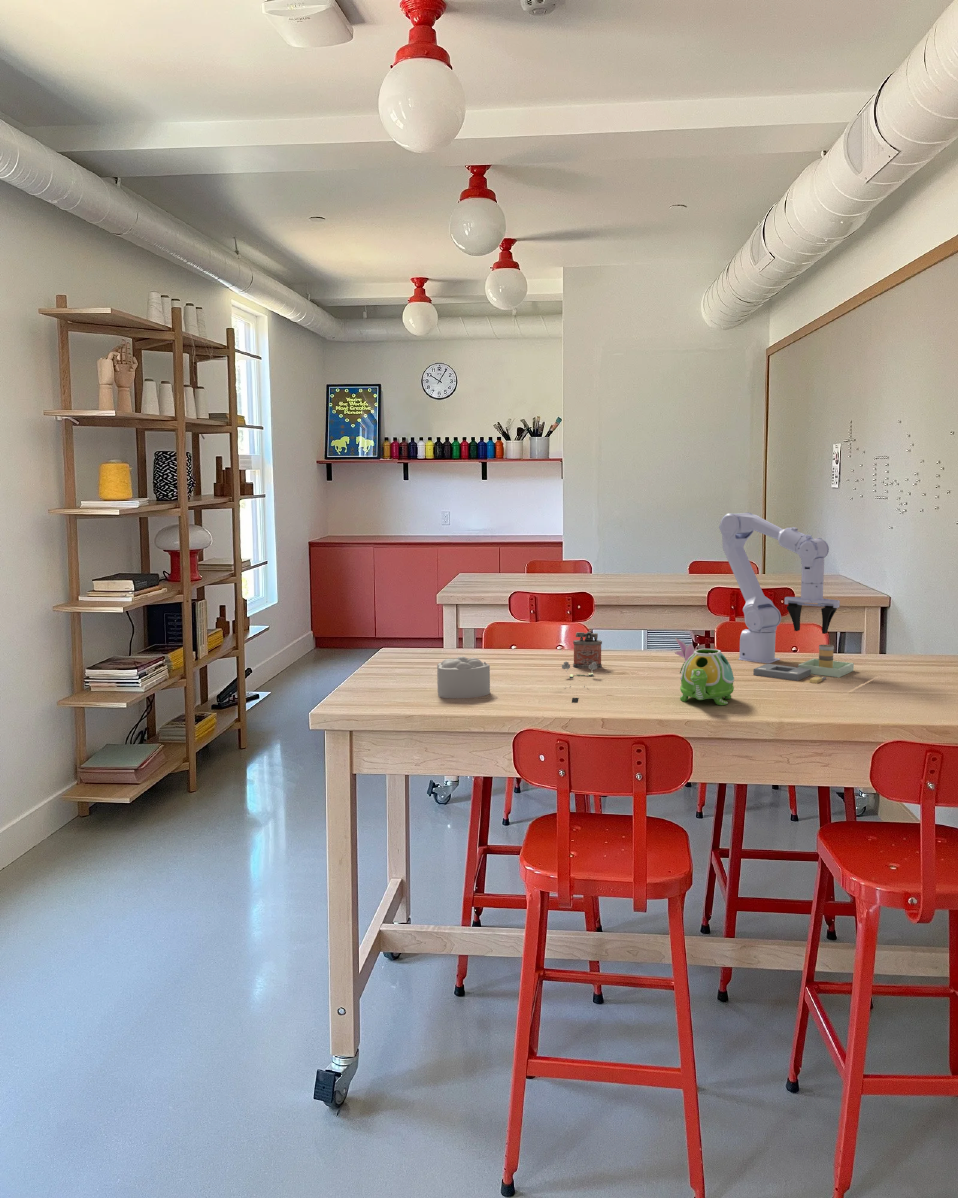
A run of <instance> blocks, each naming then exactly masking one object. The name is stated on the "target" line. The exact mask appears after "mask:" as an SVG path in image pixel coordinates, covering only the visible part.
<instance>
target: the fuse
mask: <svg viewBox="0 0 958 1198" xmlns="http://www.w3.org/2000/svg"><path fill="white" fill-rule="evenodd" d="M834 649H835V646H834V645H833V644H819V646H818V659H819V667H826V668H833V661H834Z"/></svg>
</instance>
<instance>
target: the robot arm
mask: <svg viewBox="0 0 958 1198" xmlns="http://www.w3.org/2000/svg"><path fill="white" fill-rule="evenodd" d="M718 529H719V532H720V534H721V538H722V539H721V541H722V542H721V543H722V549H723V552H724V555H725V557H726V559H727V561H728V564H729V566H730V569H731V571H732V574H733V575H734V578H735V581H736V583H737V586H738V587H739V590H740V591H741V592H740V593H741V595H742V597H743V599H744V601H745V604H744V606H743V608H742V612H743V616H744V623H745V626H746V627H747V628H748V629H747V628H745V629H742V631H741V633H740V636H739V637H740V638H739V658H737V660H738V661H745V662H755V663H760V664H761V663H762V664H772V663H775V662H776V661H779V660H781V658H778V657H776V632H777V629H778V626H779V625H780V624H781V622H782V615H781V612H780V610H779V608H777V607H776V606H775V604H774V602H773V601H772V600H771V599H770V598H768V597H767V596H765V594H764V592H763V590H762V587H761V585H760V583H759V580H758V577H757V576H756V575H757V574H756V573H755V570H754V569H753V567H752V564H751V561H750V560H749V557H748V555H747V553H746V551H745V544H746V543H747V541H748V540H749V539H750V537H751V536H752V534H754V532H757V533H760V534H762V535H765V536H767V537H770V538H772V539H775V540H776V541H778V542H777V543H778V545H779V546H780V547H781V548H784V549H786V550H788V551H790V552H792V553H795V554H797V555H798V557H799V559H800V561H801V562H800V565H801V580H800V581H801V583H800V596H785V597H784V605H787V606H786V610H787V611H788V613H789V615H790V618H791V621H792V624H793V630H794V632H799V631H800V630H801V613H802V610H803V609H802V608H803V606H808V607H821V609H820V610H821V618H822V620H821V621H822V623H821V634H823V635H825V634H827V633H828V630H829V627H830V623H831V622H832V619H833V617H834V615H835V613H836V612H837V610H838V608H840V605H841V604H840V603H841V602H840V600H838V599H829V598H824V581H825V580H824V579H825V578H824V577H825V575H824V573H825V558H826V557H827V556H828V554H829V551H830V547H829V544H828V542H827V541H826V540H824V539H823V538H821V537H817V538H813V537H812V536H813V535H811V534H809V533H808V534H806V533H803V532H801V531H799V529H798V527H796V526H792V527H786V528H782V527H780V526H778V525H776V524H775V523H772V522H770V521H768V520H766V519H765V518H762V517H761V516H759V515H758V514H754V513H752V512H749V511H748V512H741V513H740V512H739V513H734V512H733V513H732V512H729V513H725V515H723V517H722V518H721V521H720V524H719V526H718Z"/></svg>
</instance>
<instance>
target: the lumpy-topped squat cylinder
mask: <svg viewBox="0 0 958 1198" xmlns="http://www.w3.org/2000/svg"><path fill="white" fill-rule="evenodd" d="M436 667H437V671H436V672H437V673H436V674H437V675H436V676H437V679H436V680H437V695H438V697H439V698H443V699H471V698H479V697H484V696H487V695H489V694H491V676H490V675H491V672H490V671H491V669H490V668H491V666H490V664H489V663H486V661H484V662H483V661H481V660H480V659H479V658H475V657H470V658H467V657H465V656H457V657H456V658H445V659H443V660H442V661H441V662H439V663H437V665H436Z"/></svg>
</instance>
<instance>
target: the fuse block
mask: <svg viewBox="0 0 958 1198" xmlns="http://www.w3.org/2000/svg"><path fill="white" fill-rule="evenodd" d="M753 676H759V677H765V678H772V679H773V678H775V679H781V680H788V681H797V682H798V681H801V680H802V679H805V678H807V677H809V676H812V674H811V669H806V668H798V666H797V667H796V666H790V665H789V666H787V665H779V664H772V663H764V664H763V665H760V666H757V667H755V668H753Z"/></svg>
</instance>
